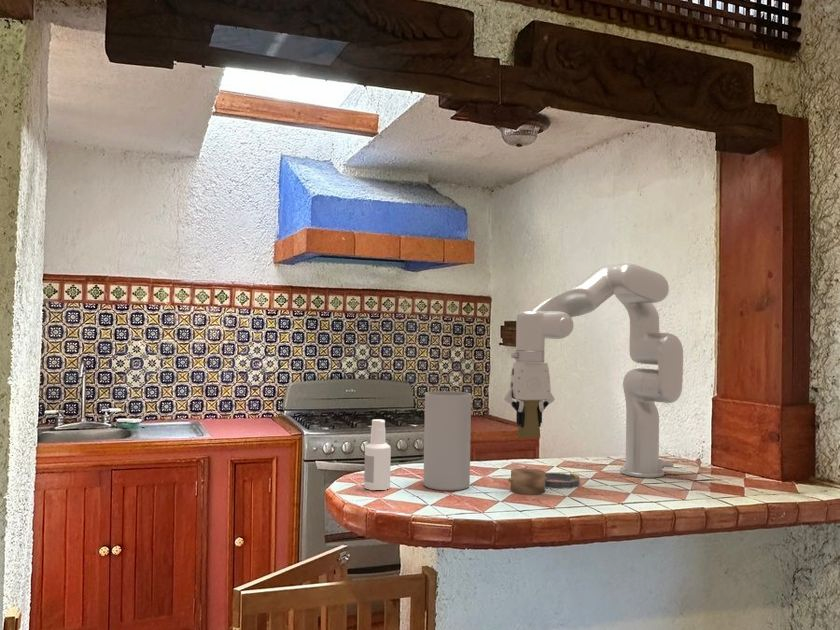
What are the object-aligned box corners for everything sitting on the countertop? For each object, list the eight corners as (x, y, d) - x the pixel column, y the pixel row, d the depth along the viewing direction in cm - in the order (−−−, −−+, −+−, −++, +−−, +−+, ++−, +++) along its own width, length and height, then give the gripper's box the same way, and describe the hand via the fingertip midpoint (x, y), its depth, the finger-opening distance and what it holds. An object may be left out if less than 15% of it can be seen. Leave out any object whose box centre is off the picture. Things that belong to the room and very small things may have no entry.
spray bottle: (373, 484, 186) (375, 417, 187) (394, 487, 183) (396, 419, 183) (358, 489, 180) (360, 420, 181) (380, 492, 177) (381, 422, 177)
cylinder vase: (458, 479, 194) (460, 391, 195) (477, 489, 182) (478, 395, 183) (416, 482, 190) (418, 391, 190) (433, 492, 178) (434, 396, 178)
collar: (566, 477, 200) (567, 470, 200) (586, 487, 188) (586, 479, 188) (526, 479, 197) (526, 471, 197) (544, 488, 185) (544, 480, 185)
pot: (539, 486, 188) (539, 467, 188) (553, 494, 179) (553, 474, 179) (502, 487, 185) (503, 468, 186) (515, 495, 177) (515, 475, 177)
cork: (541, 438, 179) (541, 396, 180) (517, 437, 180) (518, 395, 180) (539, 435, 185) (540, 394, 186) (516, 434, 186) (517, 393, 186)
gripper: (505, 357, 178) (504, 429, 177) (565, 358, 181) (564, 428, 181) (495, 356, 185) (494, 425, 184) (553, 357, 189) (552, 424, 188)
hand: (529, 425), depth 183 cm, fingers closed on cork, 3 cm apart
